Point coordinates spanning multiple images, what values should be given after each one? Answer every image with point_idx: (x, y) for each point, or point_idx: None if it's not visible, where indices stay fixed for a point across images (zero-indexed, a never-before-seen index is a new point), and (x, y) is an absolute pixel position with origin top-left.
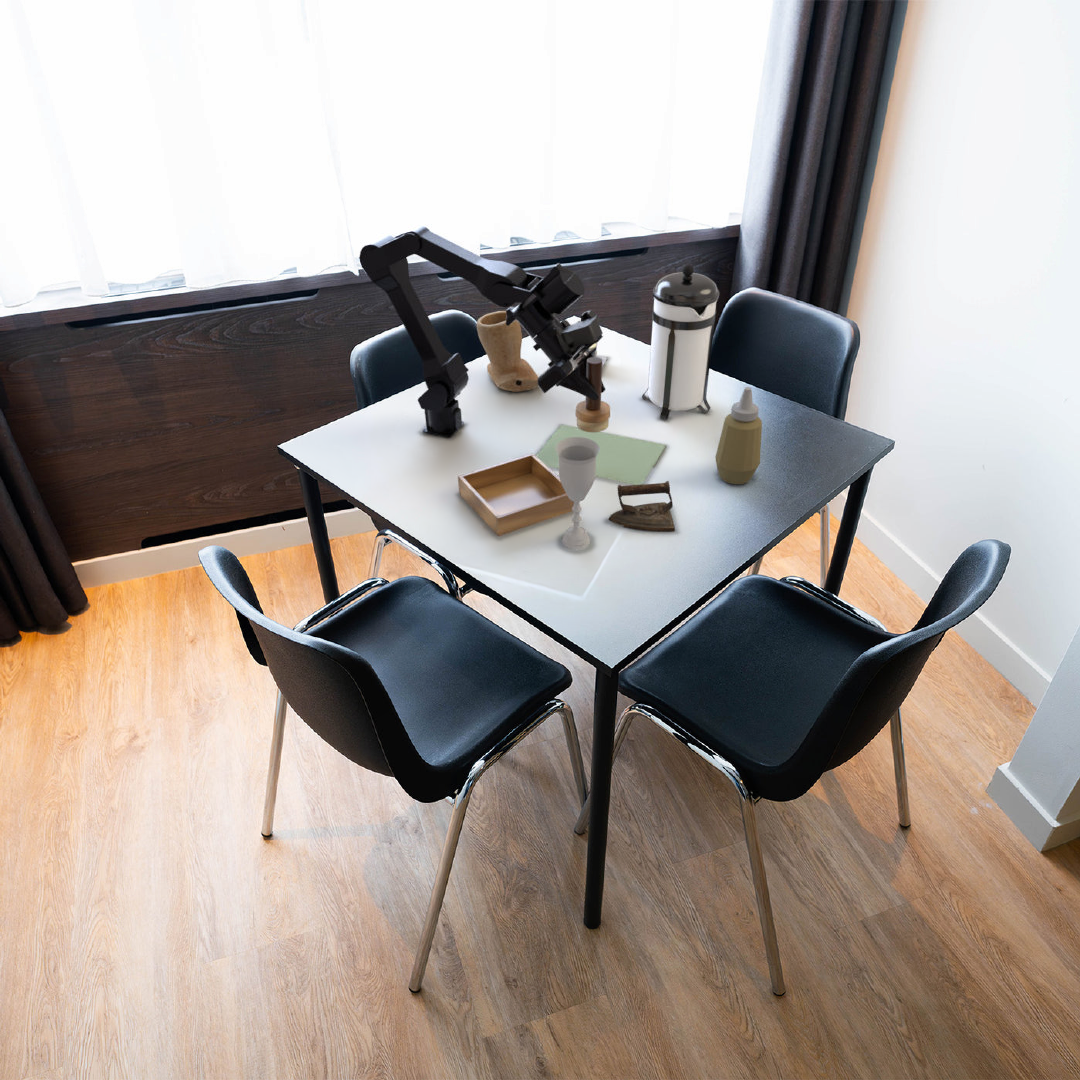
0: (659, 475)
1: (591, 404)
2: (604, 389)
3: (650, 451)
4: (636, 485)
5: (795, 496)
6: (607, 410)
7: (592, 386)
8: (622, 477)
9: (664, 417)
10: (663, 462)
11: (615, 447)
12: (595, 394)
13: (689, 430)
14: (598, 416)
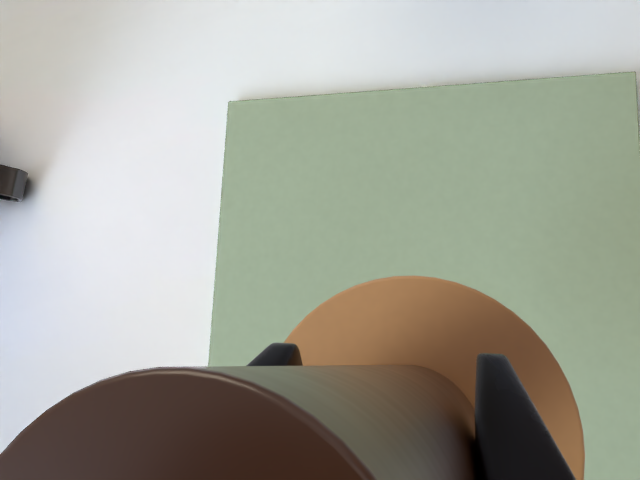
0: (483, 42)
1: None
2: (290, 346)
3: (306, 141)
4: None
5: None
6: (413, 291)
7: (507, 470)
8: (598, 180)
9: (21, 177)
10: (365, 67)
11: None
12: (523, 397)
13: (82, 64)
14: (541, 339)
